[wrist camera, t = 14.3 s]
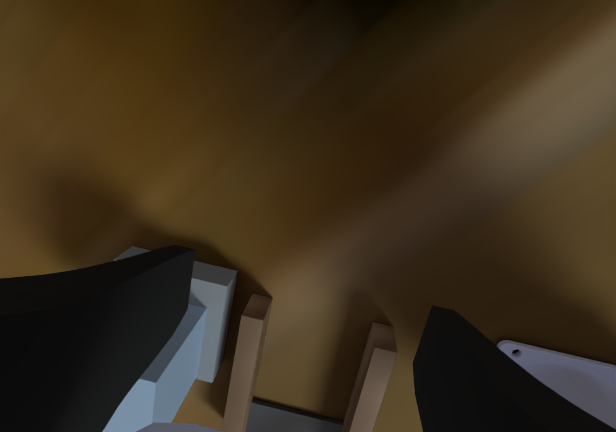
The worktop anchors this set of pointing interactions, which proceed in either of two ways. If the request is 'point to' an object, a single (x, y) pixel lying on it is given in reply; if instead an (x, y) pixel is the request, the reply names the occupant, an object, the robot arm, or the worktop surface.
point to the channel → (292, 423)
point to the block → (164, 378)
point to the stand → (208, 309)
